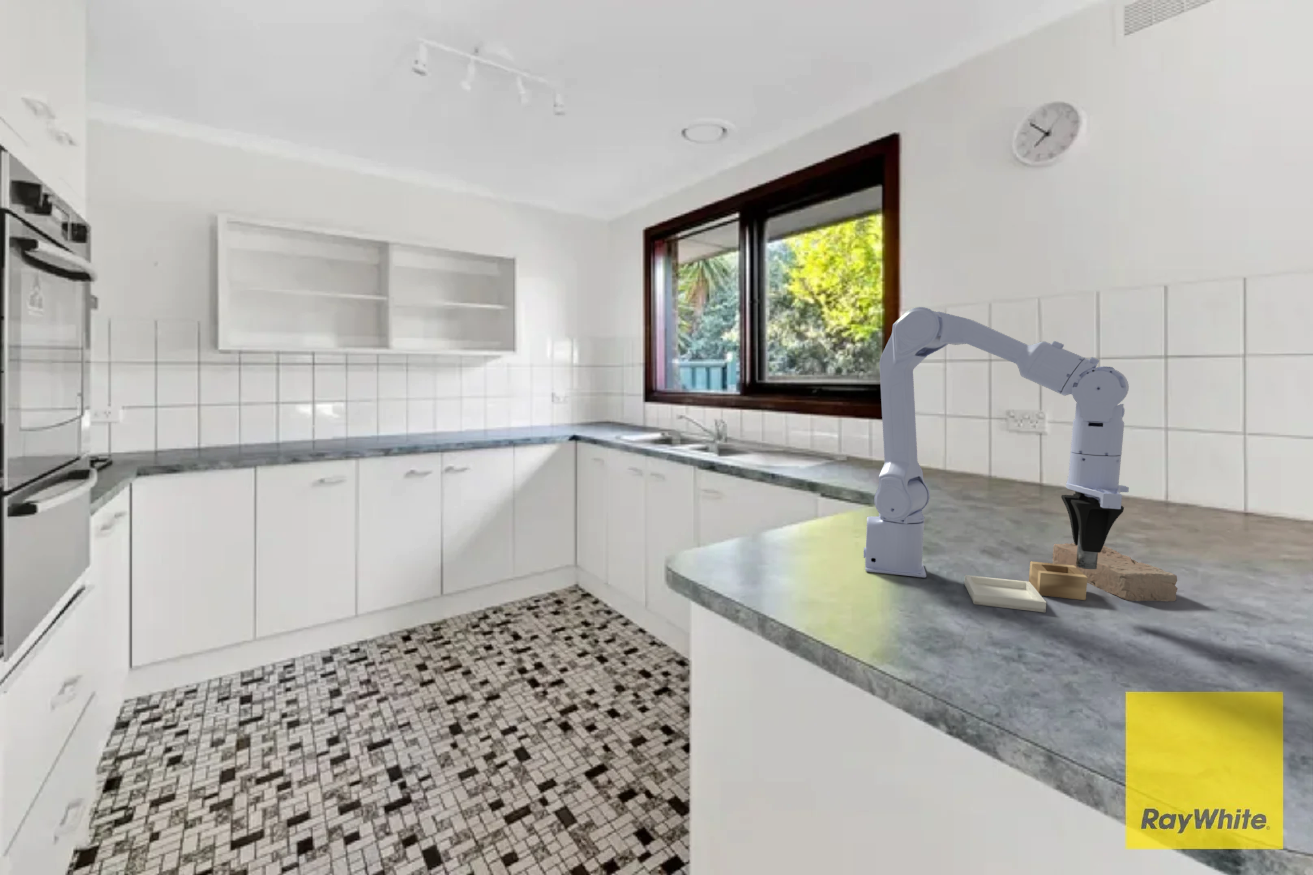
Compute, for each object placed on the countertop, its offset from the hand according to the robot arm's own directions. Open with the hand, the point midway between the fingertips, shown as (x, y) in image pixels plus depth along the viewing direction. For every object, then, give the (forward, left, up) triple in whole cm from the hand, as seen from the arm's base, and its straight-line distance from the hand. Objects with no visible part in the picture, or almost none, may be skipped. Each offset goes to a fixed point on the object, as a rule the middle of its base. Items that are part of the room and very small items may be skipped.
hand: (1087, 548), depth 83 cm
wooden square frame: (-1, +7, -9) cm, 11 cm away
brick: (+8, +15, -9) cm, 19 cm away
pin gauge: (0, 0, -3) cm, 3 cm away
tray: (-10, +1, -9) cm, 13 cm away
